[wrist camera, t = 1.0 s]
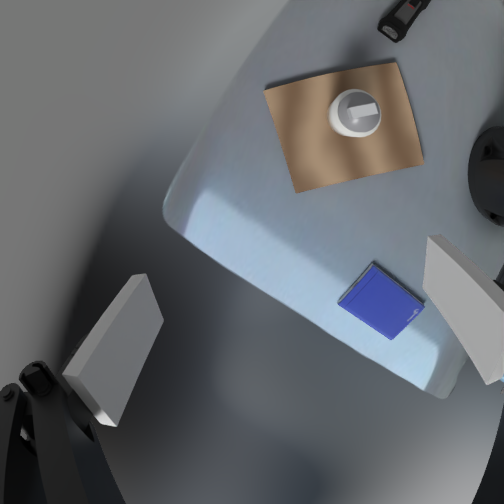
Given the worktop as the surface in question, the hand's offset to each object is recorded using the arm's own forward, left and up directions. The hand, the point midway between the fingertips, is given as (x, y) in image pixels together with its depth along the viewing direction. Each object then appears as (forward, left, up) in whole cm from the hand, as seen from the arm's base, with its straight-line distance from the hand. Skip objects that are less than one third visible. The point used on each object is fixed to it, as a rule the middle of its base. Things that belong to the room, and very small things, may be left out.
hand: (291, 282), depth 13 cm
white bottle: (-8, -7, -27) cm, 28 cm away
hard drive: (-8, +21, -28) cm, 36 cm away
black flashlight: (-23, -22, -28) cm, 42 cm away
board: (-8, -6, -28) cm, 29 cm away
